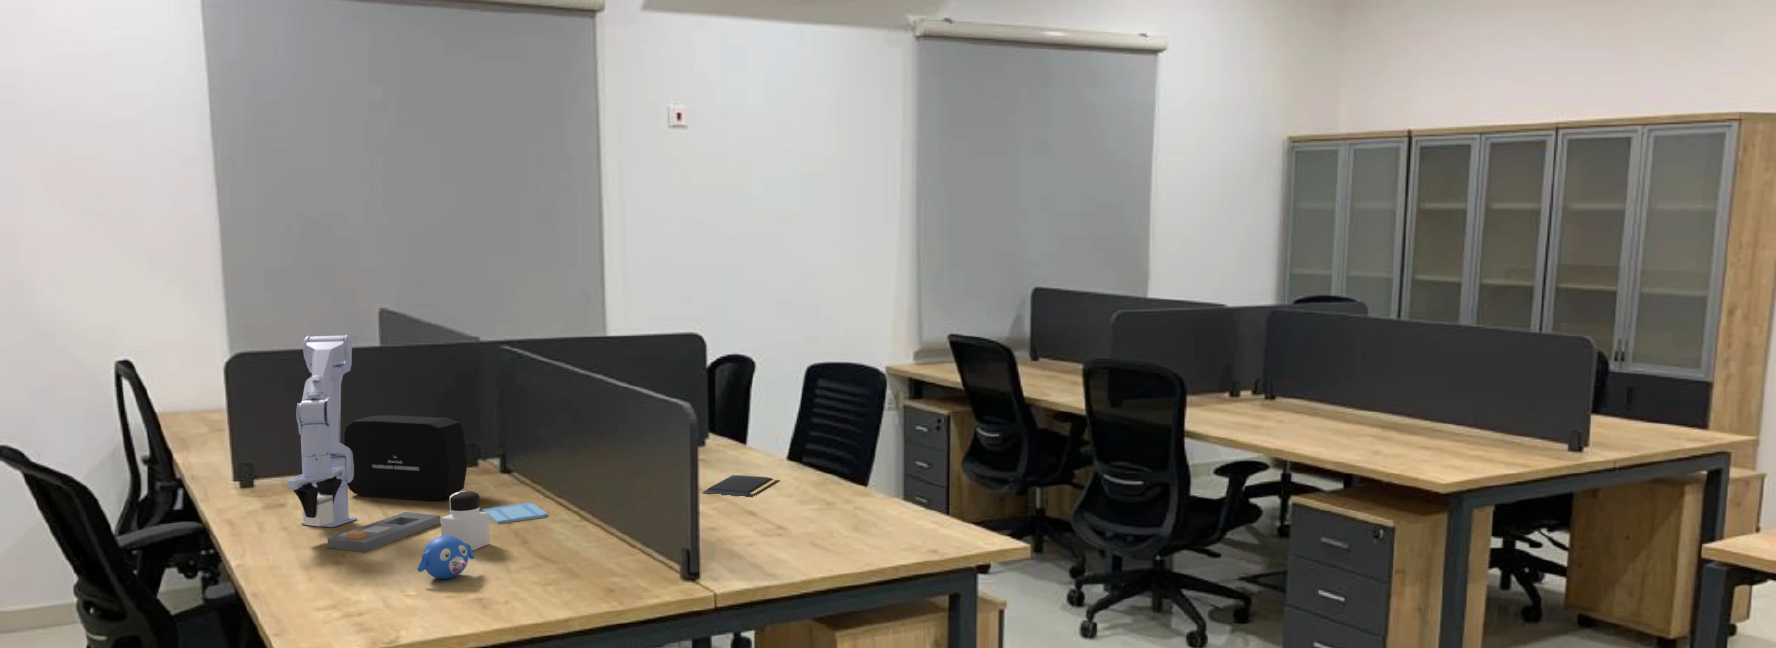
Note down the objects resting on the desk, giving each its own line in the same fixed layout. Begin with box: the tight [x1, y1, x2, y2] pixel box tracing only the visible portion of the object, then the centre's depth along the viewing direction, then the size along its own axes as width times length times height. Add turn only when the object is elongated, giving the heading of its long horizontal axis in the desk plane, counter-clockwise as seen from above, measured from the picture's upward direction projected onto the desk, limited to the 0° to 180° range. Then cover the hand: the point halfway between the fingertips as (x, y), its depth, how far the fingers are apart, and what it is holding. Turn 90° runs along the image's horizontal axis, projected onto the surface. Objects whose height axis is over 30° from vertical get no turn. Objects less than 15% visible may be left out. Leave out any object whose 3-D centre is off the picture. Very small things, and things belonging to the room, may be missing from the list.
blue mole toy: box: [417, 535, 476, 580], centre depth 231 cm, size 12×12×8 cm
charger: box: [304, 494, 334, 527], centre depth 257 cm, size 4×4×6 cm
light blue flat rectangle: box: [481, 501, 548, 525], centre depth 282 cm, size 14×12×1 cm
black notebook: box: [701, 474, 781, 498], centre depth 310 cm, size 20×2×15 cm
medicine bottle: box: [440, 490, 490, 552], centre depth 253 cm, size 7×7×12 cm
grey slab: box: [327, 511, 441, 553], centre depth 263 cm, size 24×10×3 cm, turn 162°
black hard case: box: [343, 414, 469, 501], centre depth 301 cm, size 30×12×20 cm, turn 76°
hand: (318, 514), depth 257 cm, fingers closed on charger, 4 cm apart
